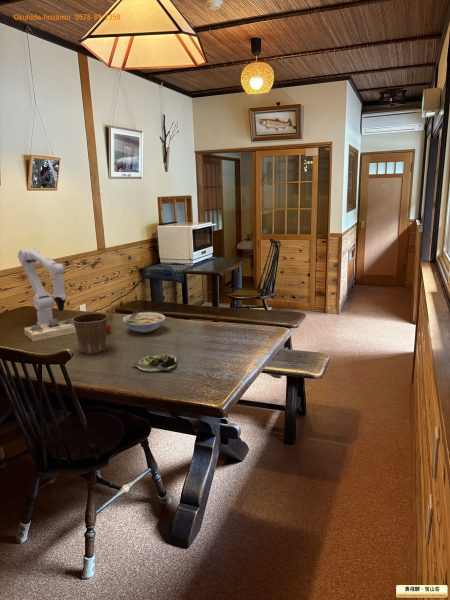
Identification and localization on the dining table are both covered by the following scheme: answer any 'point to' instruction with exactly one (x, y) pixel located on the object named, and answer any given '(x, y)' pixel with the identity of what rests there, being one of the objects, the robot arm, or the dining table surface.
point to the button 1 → (36, 327)
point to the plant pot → (91, 332)
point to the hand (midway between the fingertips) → (61, 310)
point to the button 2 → (53, 323)
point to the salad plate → (156, 363)
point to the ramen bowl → (144, 321)
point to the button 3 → (69, 321)
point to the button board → (50, 331)
